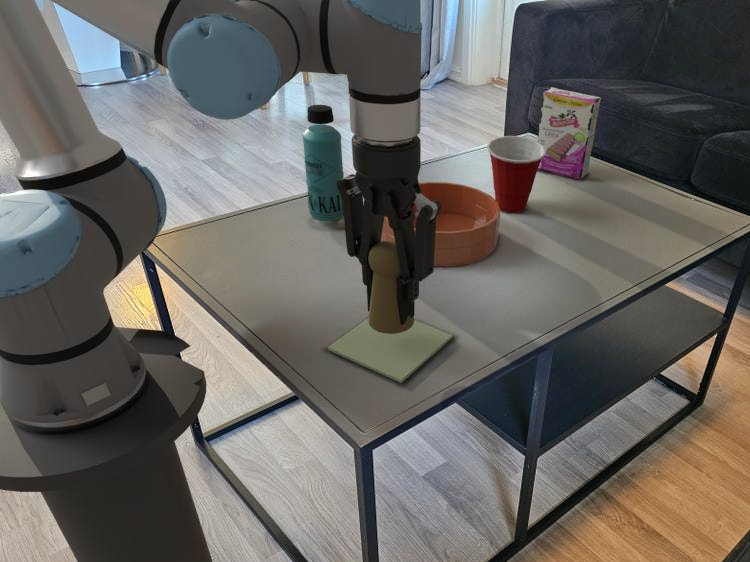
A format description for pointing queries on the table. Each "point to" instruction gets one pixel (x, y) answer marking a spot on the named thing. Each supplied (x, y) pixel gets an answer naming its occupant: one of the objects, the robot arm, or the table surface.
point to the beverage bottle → (323, 164)
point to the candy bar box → (567, 131)
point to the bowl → (459, 223)
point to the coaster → (391, 348)
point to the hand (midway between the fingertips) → (391, 313)
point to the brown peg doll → (385, 290)
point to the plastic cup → (514, 170)
